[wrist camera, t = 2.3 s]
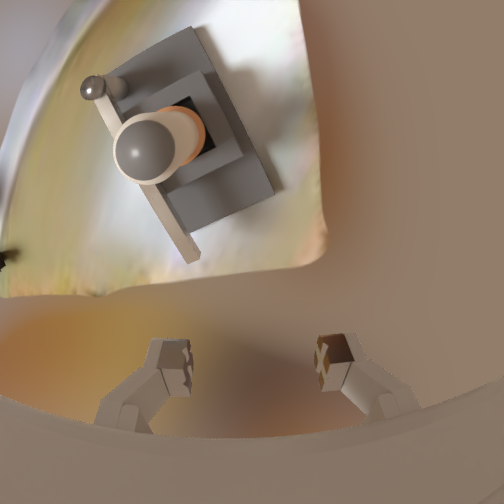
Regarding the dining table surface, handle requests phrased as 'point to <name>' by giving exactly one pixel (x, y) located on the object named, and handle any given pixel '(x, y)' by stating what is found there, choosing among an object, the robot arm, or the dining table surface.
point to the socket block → (215, 121)
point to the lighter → (1, 263)
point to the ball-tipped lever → (154, 193)
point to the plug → (158, 144)
